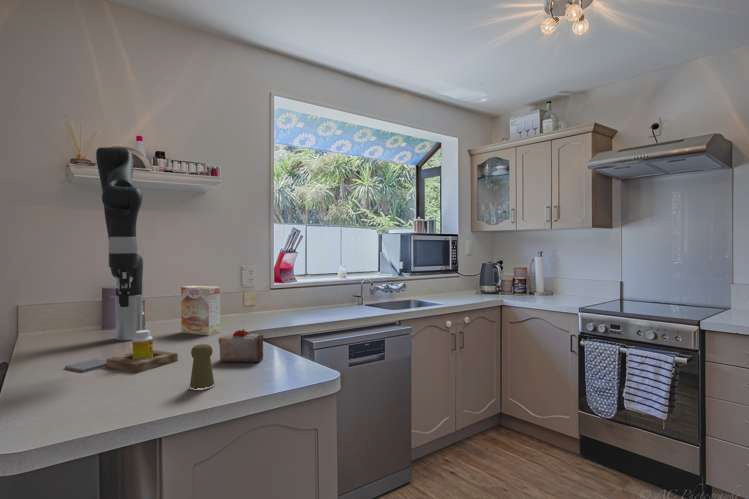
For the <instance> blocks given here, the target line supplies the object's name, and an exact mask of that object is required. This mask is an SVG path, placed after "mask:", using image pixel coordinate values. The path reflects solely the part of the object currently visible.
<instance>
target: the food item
mask: <svg viewBox="0 0 749 499" xmlns="http://www.w3.org/2000/svg"><path fill="white" fill-rule="evenodd" d="M218 344H219V362H220V363H250V362H251V363H260V362H261V361H262V360H263V359H264V334H261V333H248V331H246V330H245V329H244V328H243V329H242V330H240V329H239V330H237V331H236V330H235V332H234V333H233V334H232V333H230V334H222V335H221V336H219V338H218ZM262 358H263V359H262ZM261 359H262V360H261ZM260 360H261V361H260ZM259 361H260V362H259Z"/></svg>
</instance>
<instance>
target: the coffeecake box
mask: <svg viewBox="0 0 749 499" xmlns="http://www.w3.org/2000/svg"><path fill="white" fill-rule="evenodd" d="M180 291H181V292H180V293H181V294H180V298H181V300H180V301H181V302H180V305H181V306H180V307H181V308H180V309H181V311H180V313H181V314H180V315H181V316H180V317H181V320H180V321H181V333H182V334H190V335H191V334H192V335H202V336H212V335H215V334H220V333H221V292H220V291H221V286H210V285H207V286H206V285H186V286H185V285H184V286H180Z"/></svg>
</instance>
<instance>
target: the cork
mask: <svg viewBox="0 0 749 499" xmlns="http://www.w3.org/2000/svg"><path fill="white" fill-rule="evenodd" d="M213 353H214V352H213V347H212V345H210V344H208V343H206V344H204V343H203V344H202V343H201V344H196V345H194V346H193V347H192V348H191V350H190V354H191V357H192V358H193V360H192V368H191V375H190V383H189V388H190V387H191V388H194V389H197V388H205V387H210V386H212V385H213V384H214V385H215V381H214V380H215V379H214V373H213V366H212V360H211V359H212V358H211V357H212V355H213Z"/></svg>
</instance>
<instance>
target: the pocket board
mask: <svg viewBox="0 0 749 499" xmlns="http://www.w3.org/2000/svg"><path fill="white" fill-rule="evenodd" d="M178 354H179V353H178V352H171V351H164V350H159V349H153V357H152V358H148V359H144V360H140V361H138V360H133V352H129V353H125V354H121V355H117V356H113V357H108V358H106V359H105V361H106V368H111V369H115V368H116V370H120V369H121V370H122V371H126V372H131V371H132V372H131V373H136V372H138V373H141V372H144V371H147V370H146V369H148V370H151V369H154V368H153V367H155V368H158V367H161V365H162V366H165V365H167V364H172V363H175V362H178V361H179V360H178V358H179V356H178ZM174 361H175V362H174ZM171 362H172V363H171ZM164 364H165V365H164ZM157 366H158V367H157ZM150 368H151V369H150ZM143 370H144V371H143ZM140 371H141V372H140Z"/></svg>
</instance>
